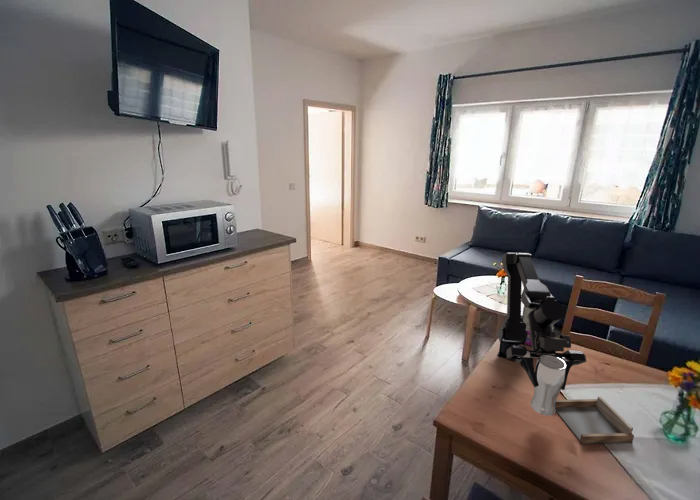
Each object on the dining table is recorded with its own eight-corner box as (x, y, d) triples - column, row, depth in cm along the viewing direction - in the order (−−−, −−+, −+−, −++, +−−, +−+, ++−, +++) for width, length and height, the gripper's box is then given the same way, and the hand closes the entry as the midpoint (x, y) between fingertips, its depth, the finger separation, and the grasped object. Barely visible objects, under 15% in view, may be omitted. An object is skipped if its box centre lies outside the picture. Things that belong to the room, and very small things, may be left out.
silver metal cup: (549, 399, 97) (558, 354, 92) (562, 417, 90) (572, 370, 86) (524, 397, 97) (532, 353, 93) (535, 416, 91) (544, 369, 86)
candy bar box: (550, 344, 134) (556, 306, 129) (550, 350, 129) (557, 312, 125) (518, 337, 139) (524, 301, 134) (518, 343, 134) (523, 306, 130)
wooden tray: (581, 443, 89) (584, 431, 88) (552, 406, 102) (554, 395, 100) (632, 442, 89) (635, 430, 88) (596, 405, 102) (598, 394, 101)
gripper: (514, 320, 92) (520, 380, 85) (590, 325, 89) (603, 389, 81) (503, 330, 102) (508, 385, 95) (571, 335, 98) (582, 393, 91)
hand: (549, 388), depth 90 cm, fingers closed on silver metal cup, 6 cm apart
